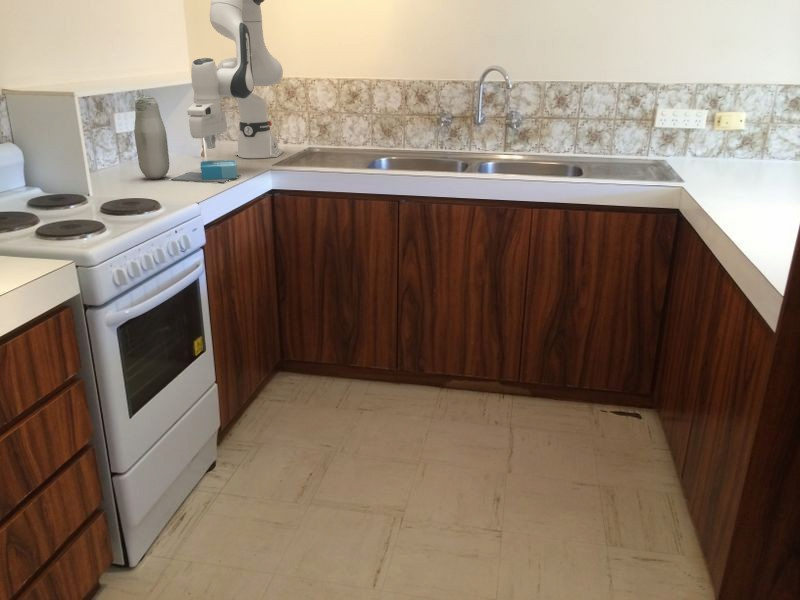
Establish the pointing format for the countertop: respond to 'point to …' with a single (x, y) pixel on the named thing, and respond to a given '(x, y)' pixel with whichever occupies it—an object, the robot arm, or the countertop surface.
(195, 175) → the mat
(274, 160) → the countertop surface
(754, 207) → the countertop surface
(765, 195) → the countertop surface
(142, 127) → the grey bottle
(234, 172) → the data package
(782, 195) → the countertop surface
